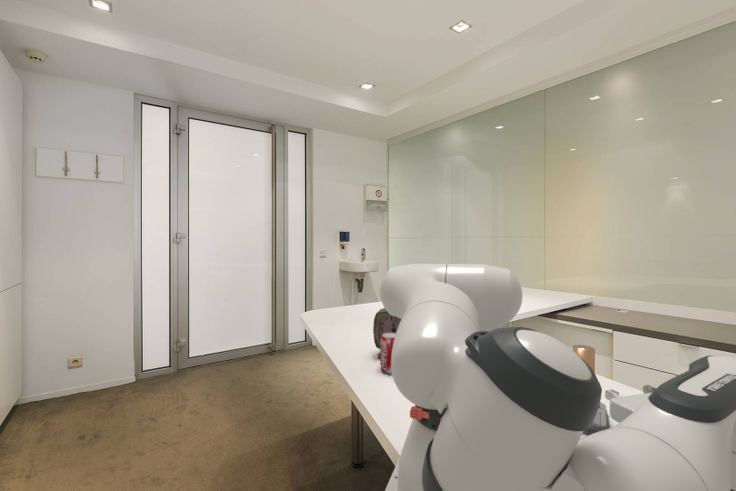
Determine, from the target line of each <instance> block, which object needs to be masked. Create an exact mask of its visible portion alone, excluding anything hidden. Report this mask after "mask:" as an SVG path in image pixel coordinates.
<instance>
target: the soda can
mask: <svg viewBox="0 0 736 491" xmlns="http://www.w3.org/2000/svg"><path fill="white" fill-rule="evenodd" d="M395 335H396V333H384V334H382V338H381V340H380V349H379V350H380V351H379V354H380V358H379V360H380V370H381V371H383V373H385V374H387V375H392V371H391V357H392V348H393V343H394V339H395Z"/></svg>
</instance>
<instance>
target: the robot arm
mask: <svg viewBox="0 0 736 491" xmlns="http://www.w3.org/2000/svg"><path fill="white" fill-rule="evenodd" d="M379 296H380V301H381V304H382V305H383V308H385V309H386V311H387V312H388V313H389V314H390V315H392V316H395V317H397V318H400V319H402V320H401V322H400V324H399V326H398V329H397V332H396V335H395V339H394V343H393V348H392V357H391V371H392V374H391V377H392V379H393V382H394V384H395V387H396V389H398V391H399V393H401V395H402V396H403V397H404V398H405V399H406V400H407V401H409V402H411V403H412V404H414V405H412V406H411V407H410V410H409V417H410V419H411V420H412V421H411V423H410V426H409V429H408V432H407V433H406V437H405V441H404V443H403V446H402V449H401V453H400V455H399V457H398V460H397V463H396V465H395V466H394V469H393V471H392V473H391V476H390V478H389V481H388V483H387V485H386V488H385V490H384V491H736V356H731V355H706V356H703V357H700V358H697V359H695V360H694V361H692V362H691V363H689V365H688V370H686V371H684V372H682V373H681V374H678V375H676V376H674V377H672V378H670V379H668V380H667V381H665V382H663V383H661V384H659V385H658V386H654V385H653V384H645V385H642V393H639V394H633V395H625V396H622V395H621V396H620V392H619V391H616V390H614V389H606V390H604V398H605V399H606V400H607V401H609V415H610V418H611V419H612V420H613V421H615V422H617V424H616V425H614V426H612V427H609V428H610V429H606V430H602V431H599V432H596V433H593V434H591V435H588V436H586V435H582V433H583V431H586V430H588V429H589V428H590V427H591V426H592V424H593V421H594V419H595V416H596V413H597V411H598V408H599V404H600V402H601V401H602V400H601V399H602V394H603V393H602V392H603V390H602V389H603V388H602V385H601V383H600V381H599V380H598V377H597V375H596V372H595V373H594V371H593V370H592V368H591V367H590V366H589V365H588V364H587V363H586V362H585V361H584V360H583V359H582V358H581V357H580V356H579V355H577V354H576V353H575V352H574V351H573V348H570V347H569V346H568V345H567V344H565V343H563V342H562V341H560V340H559V339H557V338H555V337H553V336H551V335H549V334H547V333H544V332H541V331H538V330H535V329H533V328H528V327H525V326H524V327H523V326H508V327H503V326H504V325H506V324H508V323H509V322H511V321H512V320H513V319H514V318H515V317H516V315H517V314H519V313H518V312H519V311H520V309H521V308H522V303H523V289H522V286H521V283H520V281H519V279H518V278H517V276H516V274H514V272H513V271H512V270H510V269H509V268H506V267H501V266H497V265H490V264H485V263H425V262H424V263H423V262H422V263H419V262H418V263H417V262H416V263H409V264H403V265H397V266H396V265H395V266H392V267H391V268H389V269H388V270H387V271H386V273H385V275H384V276H383V278H382V280H381V283H380V287H379Z"/></svg>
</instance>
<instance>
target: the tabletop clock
mask: <svg viewBox="0 0 736 491" xmlns="http://www.w3.org/2000/svg"><path fill="white" fill-rule="evenodd" d="M401 320H402V319H400V318H397V317H395V316H392V315H390V314H389V313H388V312H387V311H386V309H385V308H384V307H383V308H380V309H379V310H377V312H376V313H375V315H374V318H373V326H372V334H373V340H374V346H375V347H376V349H378V350H380V340H381V338H382V334H384V333H396V332H397V329H398V326H399V324H400V322H401ZM377 359H380V353H378V354H377Z"/></svg>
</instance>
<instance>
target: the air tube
mask: <svg viewBox="0 0 736 491" xmlns="http://www.w3.org/2000/svg"><path fill="white" fill-rule="evenodd" d="M572 350H573V351H574V352H575V353H576V354H577V355H579V356H580V357H581V358H582V359H583V360H584V361H585V362H586V363H587V364H588V365H589V366H590V367H591V368H592V370H593V371H594V373H595V374H596V348H594V347H593V346H590V345H585V344H574V345H572Z"/></svg>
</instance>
